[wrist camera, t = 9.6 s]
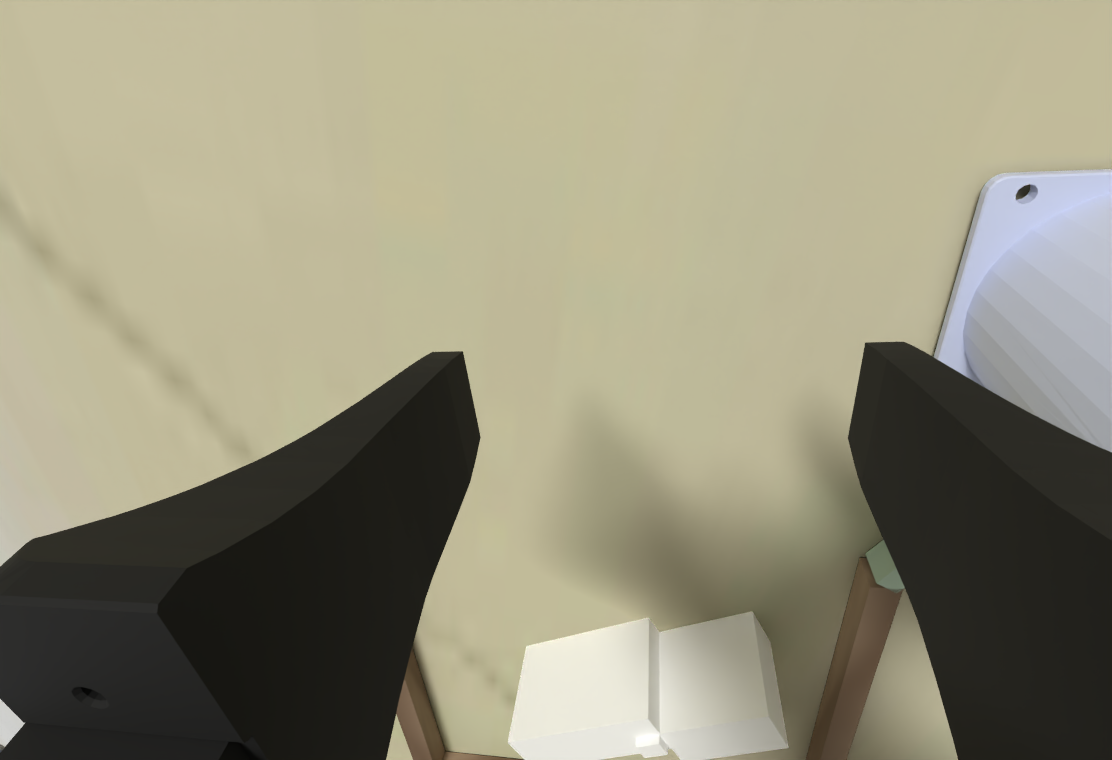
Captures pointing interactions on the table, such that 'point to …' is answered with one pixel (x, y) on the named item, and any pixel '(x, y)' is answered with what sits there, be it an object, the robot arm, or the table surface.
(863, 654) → the napkin dock
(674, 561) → the table surface
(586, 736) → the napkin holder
